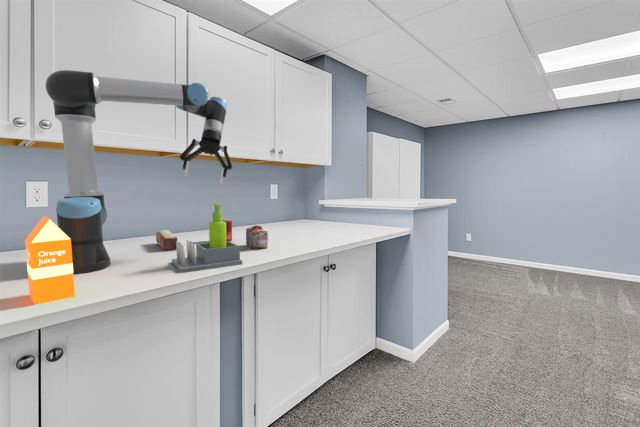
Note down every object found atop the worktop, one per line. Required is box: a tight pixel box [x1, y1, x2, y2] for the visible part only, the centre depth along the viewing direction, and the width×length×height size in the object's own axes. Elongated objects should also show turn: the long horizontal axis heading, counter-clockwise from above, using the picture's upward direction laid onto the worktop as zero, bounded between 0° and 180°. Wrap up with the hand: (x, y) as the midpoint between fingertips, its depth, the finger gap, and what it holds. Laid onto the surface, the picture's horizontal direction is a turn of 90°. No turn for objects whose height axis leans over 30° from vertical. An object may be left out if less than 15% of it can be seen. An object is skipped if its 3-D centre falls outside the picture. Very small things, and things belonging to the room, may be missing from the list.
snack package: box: [155, 229, 179, 252], centre depth 142 cm, size 21×7×7 cm, turn 33°
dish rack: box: [171, 239, 243, 274], centre depth 113 cm, size 20×16×8 cm
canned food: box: [222, 217, 233, 242], centre depth 157 cm, size 8×8×11 cm
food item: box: [245, 224, 269, 250], centre depth 143 cm, size 14×8×10 cm, turn 31°
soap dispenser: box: [208, 203, 227, 249], centre depth 114 cm, size 6×7×20 cm
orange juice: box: [24, 215, 76, 305], centre depth 79 cm, size 8×9×20 cm
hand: (203, 180), depth 128 cm, fingers open, 13 cm apart
